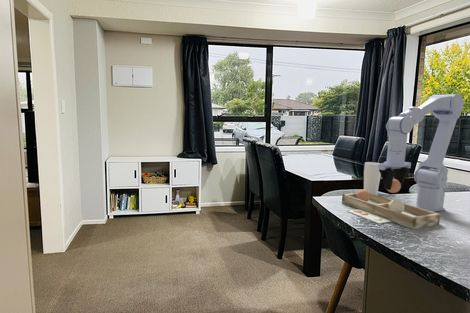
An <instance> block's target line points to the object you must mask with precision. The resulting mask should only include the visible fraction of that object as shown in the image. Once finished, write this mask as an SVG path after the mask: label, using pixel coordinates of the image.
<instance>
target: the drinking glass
mask: <svg viewBox="0 0 470 313" xmlns="http://www.w3.org/2000/svg"><path fill="white" fill-rule="evenodd" d="M381 163H382V162H381ZM381 163H380V162H373V161H366V162H364V166H363V168H364V169H363V190H367V191H368V192H369V193H371V194H375V195H378V193H379V192H378V191H379V188H380V187H379V186H380V181H381V177H382V176H381V174H380V172H379V169H378V166H379V164H381Z"/></svg>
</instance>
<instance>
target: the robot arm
mask: <svg viewBox="0 0 470 313" xmlns="http://www.w3.org/2000/svg"><path fill="white" fill-rule="evenodd" d="M464 105H465V101H464V99H463V97H462V95H461V94H460V93H453V94H452V93H450V94H432V95H431V96H428V98H427V100H426V101H424V103H422V104H421V105H419V106H410V107H408V109H407V110H406V111H403V112H401V113H399V115H397V116H391V117H390V118H388V120H387V123H386V124H385V128H386V132H387V137H388V143H387V153H386V161H384V162H381V164H379V166H378V169H379V172H380V174H381V176H380V177H381V179H382V182H383V188H384V190H387V191H388V190H390V189H391V186H392V181H393V179H396V180H398V181H399V182H400V184H401V188H400V190H401V189H402V187H403V184H404V182H405V179H406V178H407V176H408V175H409V174H410V172H411V170H410V169H411V168H412V167H411V166H412V162H409V161H405V160H406V152H407V142H408V134H410V133H411V131H412V129H413V128H414V127H415V126H416V125H417V124H419V123H421V122H422V121H423V120H424V118H425V116H426V115H427V114H429V113H432V114H433V116H434V117H435V118H436V119H438V121H439V123H438V125H437V128H436V131H435V134H434V137H433V139H432V143H431V146H430V148H429V149H430V150H429V152H428V156H427V158H426V159H425V160H424V161H421V162H420V163H419V164H418V166H417V169H415V171H414V173H413V178H414V181H415V182H416V185H418V186H417V192H416V193H417V195H416V202H415V203H416V204H411V205H412V206H415V207H418V208H422V209H425V210H429V211H432V212H435V213H436V212H440V211H445V210H446V208H444V203H445V196H446V195H445V194H446V193H445V190H444V188H443V187H444V186H445V185H446V184H447V181H448V173H449V169H448V168H447V166H446V164H444V163H443V162H444V160H445V158H446V154H447V152H448V151H447V150H448V147H449V146H450V142H451V139H452V136H453V132H454V129H455V126H456V123H457V120H458V119H460V116H461V113H462V111H463V108H464Z"/></svg>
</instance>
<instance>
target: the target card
mask: <svg viewBox="0 0 470 313" xmlns="http://www.w3.org/2000/svg"><path fill="white" fill-rule="evenodd" d="M347 212H348V213H350V214H352V215H355V216H357V217H360V218H363V219H365V220H368V221H369V222H373V223H376V224H378V225H383V224H386V223H391V222H392V221H391V220H388V219H385V218H382V217H380V216H377V215H374V214H371V213H369V212H366V211H363V210H360V209H357V208H355V209H351V210H347ZM392 223H393V222H392Z"/></svg>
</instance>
